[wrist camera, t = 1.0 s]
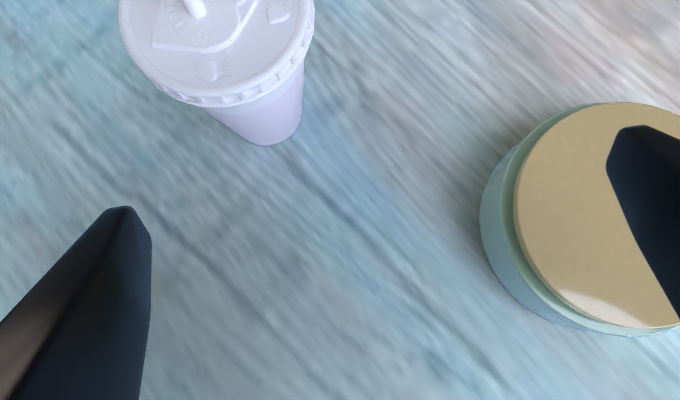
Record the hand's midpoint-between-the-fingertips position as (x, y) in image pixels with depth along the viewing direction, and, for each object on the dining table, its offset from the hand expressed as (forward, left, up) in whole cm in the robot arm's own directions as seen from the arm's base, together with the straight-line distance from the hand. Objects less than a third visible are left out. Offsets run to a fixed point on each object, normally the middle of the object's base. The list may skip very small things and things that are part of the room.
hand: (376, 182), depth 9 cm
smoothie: (+6, +6, -15) cm, 17 cm away
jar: (+3, -10, -15) cm, 18 cm away
